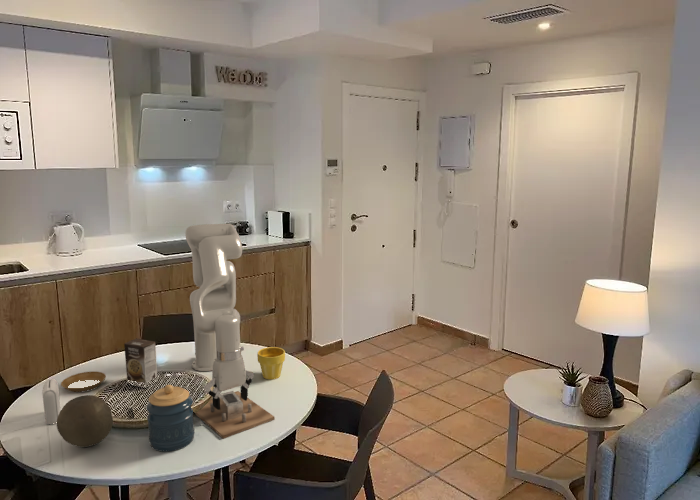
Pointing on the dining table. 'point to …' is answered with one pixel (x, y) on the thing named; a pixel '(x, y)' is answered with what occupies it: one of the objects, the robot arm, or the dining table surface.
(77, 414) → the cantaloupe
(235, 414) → the block
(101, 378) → the plant saucer
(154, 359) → the coffee box
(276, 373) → the plant pot
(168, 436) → the canister
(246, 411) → the wooden peg board
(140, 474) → the dining table surface
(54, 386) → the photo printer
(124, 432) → the dining table surface
